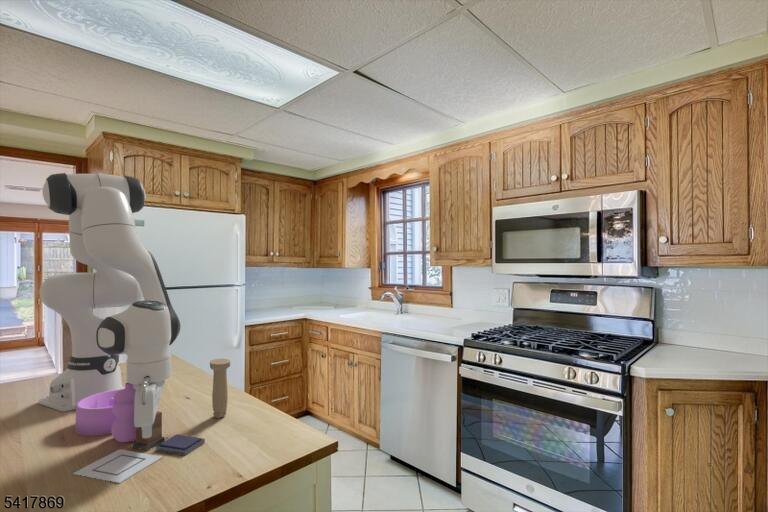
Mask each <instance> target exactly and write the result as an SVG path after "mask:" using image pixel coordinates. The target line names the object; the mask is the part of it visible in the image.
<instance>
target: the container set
mask: <svg viewBox="0 0 768 512" xmlns="http://www.w3.org/2000/svg"><path fill="white" fill-rule="evenodd" d="M135 393H136V389H134V388H133V384H130V383H127V382H126V383H125V384H124V389H118V390H111V391H106V392H101V393H98V394H94V395H91V396H88V397H86V398H84V399H82V400H80V401H78V402H77V403H76V409H75V432H76V433H77V434H79V435H83V436H99V435H100V434H101V435H107V434H111V435H112V437H113V438H114V439H115V440H116V441H117V442H118V443H119V442H120V443H128V442H129V441H130V442H133V440H134V441H136V427H135V426H134V400H135ZM144 405H145V404H144Z"/></svg>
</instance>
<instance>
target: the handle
mask: <svg viewBox="0 0 768 512" xmlns="http://www.w3.org/2000/svg"><path fill="white" fill-rule="evenodd" d="M209 367H210V369H211V370H213V378H212V392H211V393H212V395H211V398H212V399H211V401H212V402H211V403H212V411H213V414H212V415H213V418H215V419H221V418H224V417H226V415H227V409H228V399H229V397H228V396H229V395H228V392H229V391H228V378H227V377H228V376H227V375H228V374H227V371H228V370H227V369H228V368H230V367H231V360H230V359H228V358H215V359H211V360H210V361H209Z"/></svg>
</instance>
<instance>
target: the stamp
mask: <svg viewBox="0 0 768 512" xmlns="http://www.w3.org/2000/svg"><path fill="white" fill-rule="evenodd" d="M162 416H163V413H162V411H158V410H157V413H156V416H155V420H154V423H153V424H152V436H151V437H150V438H143V437H142V428H141V427H136V440H135V442H133V443H132V448H133V447H135V448H134V449H137V448H141V449H140V450H143V449H147V450H146V451H150V450H151V448H152V449H153V448H156V446H157V445H159V444H160V443H162V442H164V441H166V437H165V436H162V433H163V432H162V431H163V429H162V428H163V426H162V424H163V421H162V420H163V419H162V418H163V417H162Z"/></svg>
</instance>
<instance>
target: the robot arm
mask: <svg viewBox="0 0 768 512" xmlns="http://www.w3.org/2000/svg"><path fill="white" fill-rule="evenodd" d="M146 197H147V195H146V190H145V188H144V185H143V183H142V182H141V181H140V180H139V178H136V177H133V176H129V175H123V176H122V175H116V174H108V173H100V172H99V173H97V172H96V173H71V174H70V173H66V172H61V173H59V172H58V173H51V174H50V175H49V176H48V177H46V179H45V182H44V184H43V187H42V198H43V200H44V202H45V204H46V206H47V207H48V209H49V210H51V211H52V212H54V213H56V214H58V215H59V214H60V215H65V216H68V235H69V237H68V238H69V249H70V251H69V252H70V254H71V256H72V258H74V259H75V260H76V261H77V262H79V263H80V264H84V265H86V266H88V267H90V268H92V269H93V270H95V271H96V272H66V273H59V274H54V275H49V276H48V277H46V279H44V280H43V282H42V283H41V285H40V288H39V298H40V300H41V302H42V303H43V304H44V305H45V306H46V307H47V308H49V309H50V310H53V311H54V312H55V313H57V314H59V315H60V316H61V317H62V318H63V319H64V321H65V322H66V324H67V325H68V328H69V330H70V337H71V356H69V357H65V362H66V363H67V366H66V369H65V370H64V371H63V372H61V373H60V374H59V375H58V376H56V377H55V378H54V379H52V381H51V382H50V384H49V390H48V394H47V395H46V396H43V397H41V398H40V399H38V402H37V403H38V404H39V405H42V406H43V407H44V406H45V407H47V408H51V409H53V410H56V411H58V412H68V411H73V410H76V403H77V402H78V401H80V400H82V399H84V398H86V397H88V396H91V395H94V394H98V393H101V392H106V391H111V390H118V389H124V388H125V386H123V383H122V380H123V379H122V371H121V367H120V365H119V363H120V355H125V354H126V355H127V357H126V383H130V384H133V388H134V389H136V393H135V400H134V426H135V427H141V428H142V437H143V438H150V437H151V436H152V424H153V423H154V420H155V416H156V413H157V411H158V409H159V405H160V401H161V398H162V394H163V388H164V385H165V384H166V380H168V379H169V378H170V377H172V353H171V350H170V346H171V345H173V343H174V342H175V341H176V340H177V338H178V336H179V335H180V331H181V322H180V319H179V317H178V315H177V313H176V311H175V309H174V307H173V305H172V303H171V300H170V297H169V294H168V291H167V289H166V286H165V282H164V279H163V277H162V274H161V270H160V268H159V265H158V263H157V261H156V259H155V256H154V255H153V253H152V252H150V251H148V250H147V249H146V248H145V246H144V245H143V243H142V242H141V240H140V238H139V236H138V232H137V227H136V223H135V218H134V215H133V214H135V213H139V212H140V211H141V210H142V209H143V208H144V207H145V203H146ZM143 299H144V300H143ZM127 306H128V308H127V309H126V310H124V311H122V312H119V313H116V314H114V315H110V316H106V317H105V318H100V317H98V316H96V315H95V312H94V309H104V308H105V309H106V308H107V309H108V308H122V307H127ZM144 404H145V405H144Z"/></svg>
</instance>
